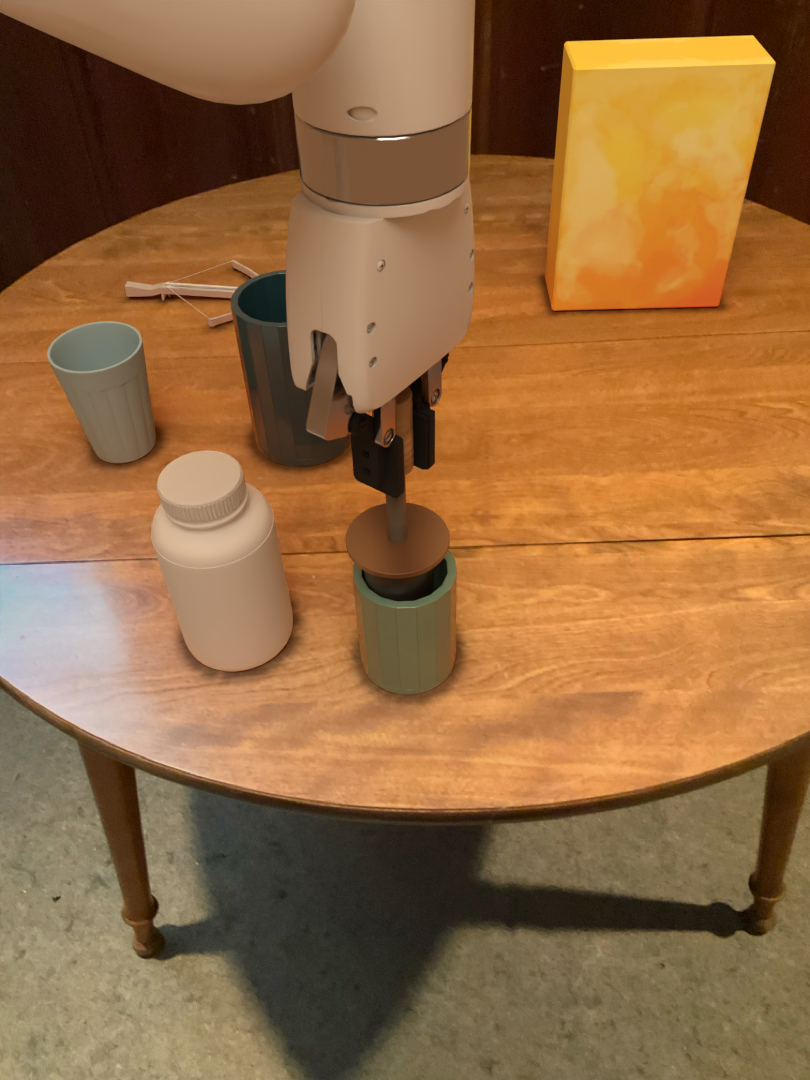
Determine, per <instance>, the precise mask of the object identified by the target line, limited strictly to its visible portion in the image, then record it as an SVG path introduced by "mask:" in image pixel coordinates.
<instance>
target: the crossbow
mask: <svg viewBox="0 0 810 1080" xmlns="http://www.w3.org/2000/svg"><path fill="white" fill-rule="evenodd" d="M229 263H231V264H232V267H233V269H235V270H237V271H239V272H242V273H243V274H244V275H246V276H248V277H250V279H251V278H254V277H256V276H258V275H260V274H259V273H257V272H256V271H254V270H253V269H251V268H250V267H248V266H246V265H244V264H242V263H240V262H239V261H237V260H236V259H231V260H229V261H227V262H224V263H220V264H218V265H216V266H212V267H209V268H207V269H204V270H201V271H198V272H195V273H192V274H190V275H187V276H184V277H181V278H178V279H175V280H173V281H172V280H171V281H170V280H167V281H165V282H163V281H161V282H159V283H155V284H149V283H144V282H143V283H141V282H137V281H129V280H128V281H126V283H125V285H124V291H125V295H126V297H127V298H131V297H155V296H157V295H161V296H160V297H161V301H165V300H166V297H167V296H168V298H170V297H171V295H176V296H177V297H178V298H180V299H181V300H183V301H184V302H185V303H186V304H188V305H189V306H191V307H192V308H193V309H195V310H196V311H197V312H198V313H200V314H201V315H203V316H204V317H205V318H206V319H207V322H208V326H209V327H215V326H217V325H220V324H224V323H227V322H230V321H233V317H232V311H230V312H227V313H224V314H220V315H217V316H214V317H209V316H207V315H206V314H204V313H203V312H202V311H201V310H199V309H198V308H197V307H195V306H194V305H193V304H191V303H190V302H189V301H187V300H186V299H185V298H183V297H182V296H192V297H208V298H224V299H231V296H232V295H233V293H234V292H235V290H236V289H237V288H238V287H239V286H236V285H235V286H233V285H231V286H230V285H219V284H218V285H217V284H203V283H189V282H178V281H181V280H183V279H186V278H190V277H192V276H195V275H198V274H202V273H204V272H206V271H207V272H208V271H210V270H212V269H216V268H218V267H220V266H221V267H222V266H224V265H226V264H229Z"/></svg>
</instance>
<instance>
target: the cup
mask: <svg viewBox="0 0 810 1080" xmlns="http://www.w3.org/2000/svg"><path fill="white" fill-rule="evenodd" d="M46 358H47V360H48V363H49V365H50V366H51V369H52V371H53V373H54V375H55V376H56V379H57V380H58V382H59V384H60V386H61V389H62V390H63V392H64V394H65V396H66V398H67V400H68V402H69V404H70V406H71V408H72V410H73V412H74V414H75V416H76V418H77V421H79V424H80V426H81V428H82V430H83V432H84V434H85V435H86V438H87V440H88V442H89V444H90V446H91V448H92V449H93V452H94V453H95V455H96V457H97V458H99V459H100V460H102V461H103V462H106V463H110V464H126V463H130V462H135V461H137V460H139V459H141V458H143V457H145V456H147V455H148V454H149V453H150V452H151V451H152V450H153V449H154V448H155V445H156V441H157V435H156V427H155V420H154V412H153V406H152V405H153V404H152V398H151V392H150V385H149V384H150V383H149V378H148V377H149V376H148V369H147V363H146V355H145V347H144V340H143V336H142V334H141V332H140V331H139V330H138V329H137V328H136V327H134V326H133V325H130V324H128V323H124V322H121V321H114V320H103V321H93V322H89V323H84V324H80V325H78V326H75V327H73V328H70V329H68V330H66V331H65V332H62V333H61V334H60V335H58V336H57V337H56V338H55V339H54V340H52V341H51V343H50V344H49V346H48V349H47V352H46Z"/></svg>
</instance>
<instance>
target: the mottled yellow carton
mask: <svg viewBox="0 0 810 1080" xmlns="http://www.w3.org/2000/svg"><path fill="white" fill-rule="evenodd" d="M776 64H777V62H776V61H775V60H774V59H773V57H772V56H771V54H769V53H768V51H767V50H766V49H765V48H764V47H763V45H762V44H761V43H760V42H759V41H758V39H757V38H756V37H755V36H754V35H753V34H750V35H724V36H723V35H722V36H693V37H692V36H689V37H663V38H662V37H661V38H633V39H632V38H631V39H628V38H627V39H603V40H602V39H601V40H598V39H597V40H571V41H570V40H567V41H565V42H564V44H563V53H562V65H561V78H560V91H559V99H558V100H559V101H558V114H557V125H556V136H555V137H556V138H555V149H554V151H555V152H554V159H553V160H554V162H553V171H552V172H553V173H552V174H553V175H552V186H551V198H550V208H549V209H550V210H549V222H548V223H549V224H548V233H547V234H548V235H547V247H546V259H545V271H544V279H545V285H546V289H547V295H548V298H549V299H548V300H549V303H550V308H551V310H552V311H553V312H562V311H567V312H568V311H602V310H606V311H607V310H642V309H643V310H645V309H678V308H679V309H682V308H683V309H684V308H685V309H686V308H712V307H713V308H716V307H719V306H720V304H721V300H722V295H723V291H724V287H725V282H726V278H727V275H728V269H729V266H730V262H731V257H732V253H733V250H734V245H735V240H736V235H737V232H738V228H739V227H738V226H739V222H740V219H741V214H742V210H743V207H744V201H745V198H746V193H747V188H748V184H749V180H750V176H751V171H752V168H753V167H752V166H753V163H754V158H755V154H756V151H757V146H758V141H759V138H760V137H759V136H760V133H761V128H762V124H763V119H764V116H765V111H766V107H767V103H768V98H769V94H770V90H771V85H772V83H773V82H772V81H773V77H774V73H775V69H776Z"/></svg>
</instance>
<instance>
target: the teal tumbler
mask: <svg viewBox="0 0 810 1080" xmlns="http://www.w3.org/2000/svg"><path fill="white" fill-rule="evenodd" d="M237 287H238V288H237V289H236V290H235V292H234V293H233V295H232V296H231V298H230V312H232V317H233V320H232V322H233V327H234V334H235V338H236V344H237V350H238V354H239V358H240V364H241V371H242V376H243V381H244V388H245V392H246V393H245V394H246V398H247V403H248V409H249V413H250V419H251V425H252V430H253V436H254V439H255V444H256V447H257V449H258V451H259V452H260V453H261V455H263V457H265V458H266V459H268V460H269V461H271V462H274V463H276V464H278V465H283V466H287V467H298V468H302V467H312V466H316V465H320V464H324V463H327V462H329V461H332V460H333V459H336V458H337V457H339V456H341V454H343V453H344V452H345V451H346V450H347V449H348V447H349V446H351V445H350V444H351V434H349V435H347V436H346V437H342V438H338V439H334V440H330V441H328V440H325V439H323V438H321V437H318V436H316V435H314V434H312V433H310V432H308V431H307V429H306V422H307V417H308V412H309V407H310V402H311V396H312V391H313V387H311V388H309V389H308V390H307V391H305V390H303V389H300V388H298V387H296V385H295V383H294V381H293V377H292V372H291V364H290V355H289V344H288V330H287V310H286V269H279V270H274V271H268V272H264V273H260V274H259V275H258V276H256V277H254V278H251V277H250V278H249V279H247V280H246V281H244V282H243V283H242V284H240V285H238V286H237Z"/></svg>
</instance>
